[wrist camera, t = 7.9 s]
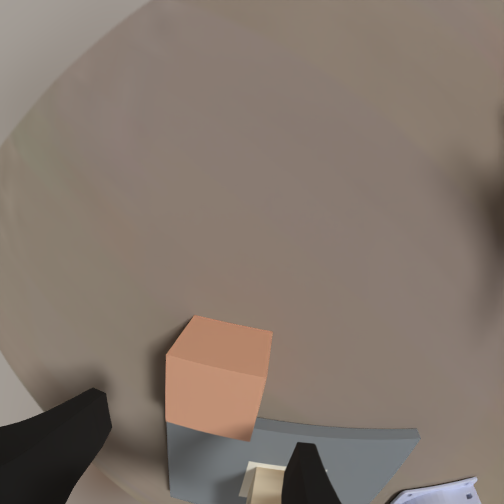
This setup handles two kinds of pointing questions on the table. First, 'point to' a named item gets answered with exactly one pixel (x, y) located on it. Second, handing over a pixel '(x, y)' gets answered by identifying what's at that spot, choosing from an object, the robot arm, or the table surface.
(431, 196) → the table surface
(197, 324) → the terracotta block
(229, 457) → the baseplate
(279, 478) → the birch block
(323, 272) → the table surface
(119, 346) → the table surface
